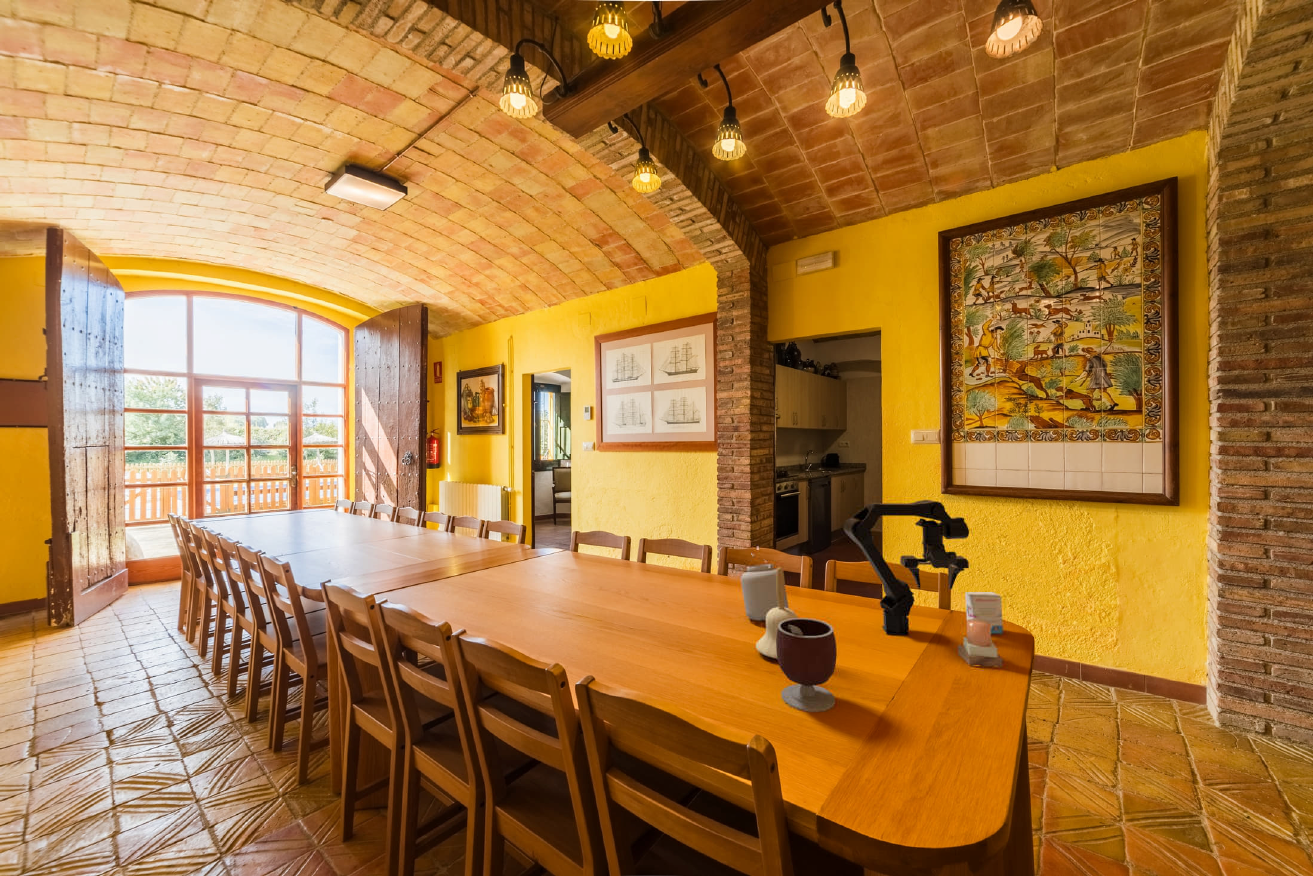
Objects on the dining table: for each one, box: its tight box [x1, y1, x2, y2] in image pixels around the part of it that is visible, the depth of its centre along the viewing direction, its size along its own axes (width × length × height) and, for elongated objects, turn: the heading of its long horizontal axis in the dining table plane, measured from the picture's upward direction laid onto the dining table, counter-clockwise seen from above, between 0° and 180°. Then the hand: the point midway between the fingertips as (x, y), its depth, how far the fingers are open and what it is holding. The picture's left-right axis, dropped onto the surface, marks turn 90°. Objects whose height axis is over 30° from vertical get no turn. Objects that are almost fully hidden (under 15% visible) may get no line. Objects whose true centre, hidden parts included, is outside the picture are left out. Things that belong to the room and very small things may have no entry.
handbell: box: [755, 566, 798, 660], centre depth 150 cm, size 15×15×25 cm
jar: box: [740, 545, 790, 621], centre depth 181 cm, size 19×15×25 cm
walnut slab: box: [957, 644, 1004, 668], centre depth 141 cm, size 8×8×3 cm
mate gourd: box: [776, 617, 838, 713], centre depth 123 cm, size 16×14×20 cm
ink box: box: [964, 591, 1004, 635], centre depth 162 cm, size 9×5×12 cm, turn 84°
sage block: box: [962, 636, 998, 658], centre depth 141 cm, size 6×6×2 cm
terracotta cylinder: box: [966, 619, 992, 647], centre depth 141 cm, size 6×6×6 cm
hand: (934, 588), depth 165 cm, fingers open, 9 cm apart
